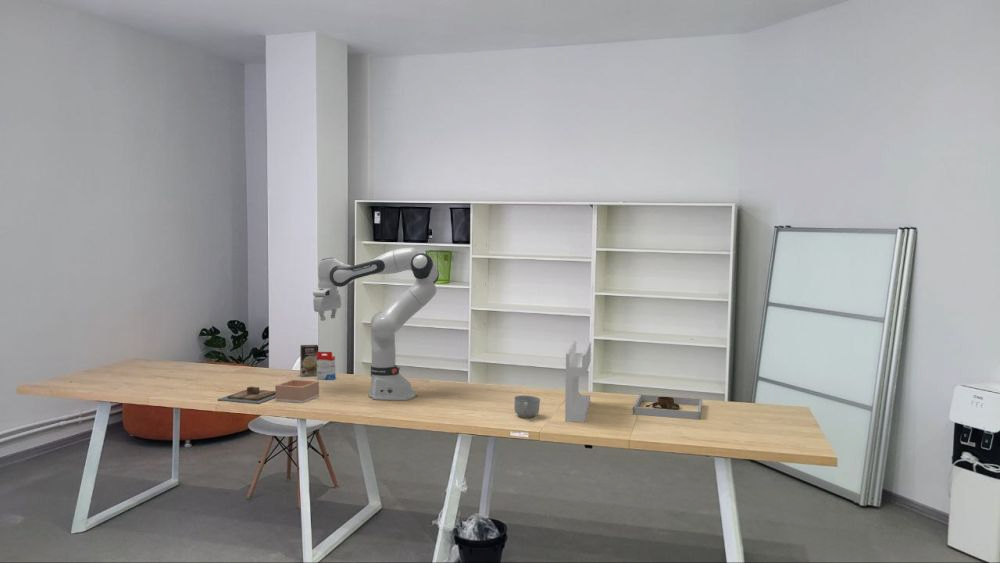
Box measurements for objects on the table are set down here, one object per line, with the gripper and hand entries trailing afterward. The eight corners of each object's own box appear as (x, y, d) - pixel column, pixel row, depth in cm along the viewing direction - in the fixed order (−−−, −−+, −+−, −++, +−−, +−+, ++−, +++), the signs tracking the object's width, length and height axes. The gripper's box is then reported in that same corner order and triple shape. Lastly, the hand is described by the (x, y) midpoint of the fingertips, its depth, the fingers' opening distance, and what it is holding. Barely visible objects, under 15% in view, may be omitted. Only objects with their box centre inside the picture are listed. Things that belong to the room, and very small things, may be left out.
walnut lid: (278, 393, 351) (278, 385, 351) (257, 400, 336) (257, 392, 335) (249, 391, 356) (248, 382, 355) (227, 398, 340) (227, 389, 340)
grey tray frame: (702, 405, 335) (702, 398, 335) (700, 419, 310) (700, 412, 310) (639, 400, 343) (639, 394, 343) (632, 414, 318) (632, 407, 318)
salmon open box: (318, 396, 348) (318, 381, 348) (302, 402, 335) (302, 387, 334) (292, 394, 352) (292, 379, 352) (275, 400, 339) (275, 385, 338)
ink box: (335, 378, 389) (335, 350, 388) (332, 380, 384) (332, 352, 383) (319, 377, 390) (319, 350, 389) (316, 379, 385) (316, 351, 384)
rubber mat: (287, 393, 353) (287, 392, 353) (259, 404, 332) (259, 402, 332) (247, 390, 359) (247, 389, 359) (217, 400, 338) (217, 399, 338)
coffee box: (300, 377, 391) (300, 346, 390) (300, 374, 397) (299, 345, 396) (318, 376, 394) (318, 346, 393) (317, 373, 400) (317, 344, 399)
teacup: (518, 412, 321) (518, 393, 320) (542, 414, 318) (542, 395, 317) (509, 420, 307) (509, 401, 307) (534, 422, 304) (534, 403, 304)
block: (572, 401, 340) (573, 341, 338) (589, 402, 339) (590, 341, 337) (565, 421, 306) (565, 354, 304) (584, 422, 304) (585, 354, 302)
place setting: (690, 409, 330) (690, 396, 330) (672, 418, 314) (673, 404, 313) (653, 403, 340) (653, 390, 340) (634, 412, 324) (634, 399, 323)
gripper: (332, 289, 372) (333, 316, 373) (310, 292, 352) (311, 321, 353) (344, 289, 370) (344, 317, 371) (322, 293, 350) (323, 322, 351)
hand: (328, 319), depth 362 cm, fingers open, 8 cm apart
